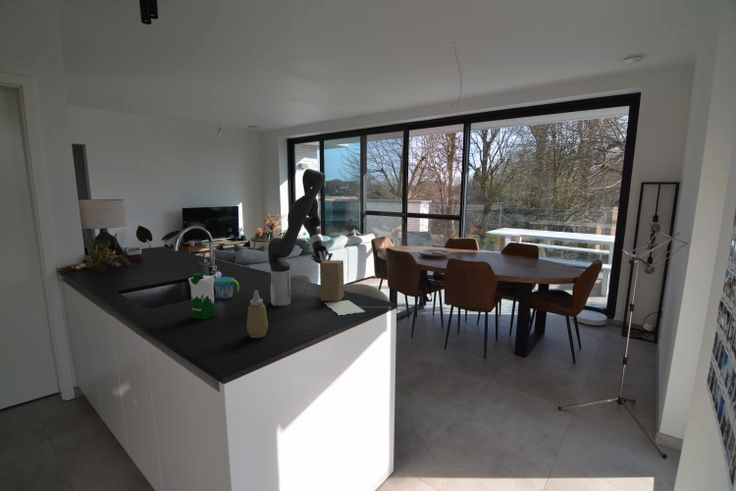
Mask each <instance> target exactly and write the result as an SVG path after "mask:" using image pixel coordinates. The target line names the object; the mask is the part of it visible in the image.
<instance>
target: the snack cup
mask: <svg viewBox="0 0 736 491" xmlns="http://www.w3.org/2000/svg"><path fill="white" fill-rule="evenodd" d="M234 284H235V285H236V286H237V287H236V292H239V291H240V283H239V282H238V281H237V280H236V279H235V278H234V277H233V276H231V277H230V276H221V277H215V278H214V284H213V286H214V289H215V294H216V298H217V299H219V300H224V299H231V298H232V296H233V292H234Z"/></svg>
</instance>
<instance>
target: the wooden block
mask: <svg viewBox="0 0 736 491" xmlns="http://www.w3.org/2000/svg"><path fill="white" fill-rule="evenodd" d="M344 268H345V267H344V260H340V259H339V260H338V259H336V260H335V259H333V260H331V259H330V260H327V259H326V260H325V261H323V262H321V263H319V274H320V275H319V279H320V280H319V282H320V284H319V285H320V287H319V289H320V301H321V302H339V301H342V299H343V298H344V297H345V286H344V284H345V283H344V282H345V281H344V280H345V277H344V275H345V274H344Z"/></svg>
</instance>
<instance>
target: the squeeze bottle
mask: <svg viewBox="0 0 736 491" xmlns="http://www.w3.org/2000/svg"><path fill="white" fill-rule="evenodd" d="M249 302H250V305H249V306H248V307H247V318H246V319H247V320H246V331H247V332H248V335H249V337H250V338H252V339H260V338H264V337H265V336H266V335H267V332H268V328H269V323H268V322H269V321H268V316H267V308H266V305H265V304H264V302H263V298H261V297H260V295H259V291H258V290H254V292H253V298H252V299H250V300H249Z"/></svg>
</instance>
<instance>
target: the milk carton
mask: <svg viewBox="0 0 736 491" xmlns="http://www.w3.org/2000/svg"><path fill="white" fill-rule="evenodd" d="M215 278H216V277H215V276H212V275H204V273H202V272H196V273H193V274H192V277H191V278H188V283H189V286H190V295H191V319H197V320H207V319H209V318H211V317H214V316H216V313H217V312H216V307H215V295H214V279H215Z"/></svg>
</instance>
